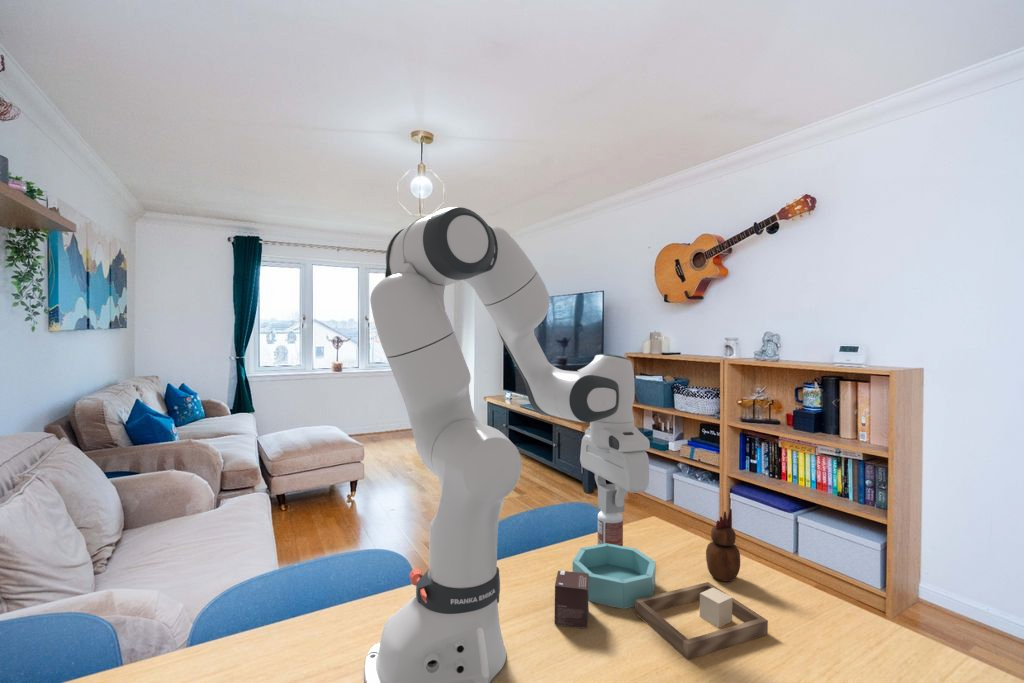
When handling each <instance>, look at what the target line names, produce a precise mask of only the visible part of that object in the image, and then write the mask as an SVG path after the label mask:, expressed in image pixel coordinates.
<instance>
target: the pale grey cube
mask: <svg viewBox="0 0 1024 683" xmlns="http://www.w3.org/2000/svg"><path fill="white" fill-rule="evenodd" d="M616 492H617V490H616V489H615V484H613V483H606V484H605V485H598V487H597V508H599V509H600V511H604V512H605V513H619V512H620V513H625V504H624V505H623V506H621V507H617V506H616V505H614V504H613V496H615V495H616ZM625 497H626V496H625ZM625 497H624V503H625V501H626V500H625V499H626V498H625Z"/></svg>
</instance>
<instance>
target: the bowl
mask: <svg viewBox="0 0 1024 683" xmlns="http://www.w3.org/2000/svg"><path fill="white" fill-rule="evenodd" d="M656 565H657V564H656V561H655V560H653V559H652V558H650V556H648V555H646V554H645V553H643V552H642V551H640V550H639V549H638V548H635V547H630V546H629V547H628V546H624V545H623V546H619V545H613V544H608V543H605V544H599V545H598V544H594V545H591V546H584V547H583V546H582V547H580V548H579V550H578V552H577V553H576V555H575V556H574V558H573V559H572V572H580V573H588V574H589V584H588V586H589V587H588V596H589V597H588V598H589V600H588V602H590V603H591V602H592V603H596V604H601V605H605V606H608V607H614V608H618V609H622V610H623V609H627V608H629V609H630V608H632V607H635V600H636V599H640V598H644V597H649V596H653V595H654V593H655V588H656V573H657V572H656V570H657V569H656Z"/></svg>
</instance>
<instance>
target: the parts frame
mask: <svg viewBox="0 0 1024 683" xmlns="http://www.w3.org/2000/svg"><path fill="white" fill-rule="evenodd" d="M711 588H715V589H717V590H719V591H721V592H723V593H725V594H727V595H729V594H728V593H726V592H725V591H723V590H721V589H720V588H718V587H717V586H715V585H714V584H712V583H710V582H709V581H707V582H703V583H699V584H693V585H691V586H690V585H689V586H686V587H682V588H677V589H674V590H670V591H666V592H662V593H657V594H653V596H649V597H644V598H640V599H636V600H635V606H634V613H635V614H636V615H637V616H638V617H639V618H640V619H641V620H642V621H644V623H646V624H647V625H648V626H649V627H650V628H652V630H654V631H655V632H656V633H657V634H658V635H659V636H660V637H661V638H663V639H664V640H665V641H666V642H667V643H668V644H669V645H670V646H672V647H673V648H674V649H675V650H677V651H678V653H680V654H681V655H682V656H683V657H684V658H685V659H686V660H688V661H689V660H690V659H693V658H696V657H697V658H698V657H700V656H702V655H706V654H710V653H713V652H716V651H719V650H722V649H724V648H729V647H731V646H735V645H738V644H742V643H744V642H748V641H750V640H754V639H757V638H760V637H764V636H767V635H768V634H769V633H768V632H769V631H768V630H769V629H768V628H769V624H768V623H769V621H768V619H767V618H765V617H763V615H760V614H759V613H756V611H754V610H752V609H751V608H749V607H747V605H744V604H743V603H741V602H740V601H739V600H737V599H735V598H734V597H732V616H734V617H735V618H737V619H739V620H740V621H741V622H742V623H739V624H735V625H731V626H728V627H725V628H722V629H717V630H716V631H712V632H708V633H706V634H702V635H698V636H695V637H691V638H688V637H686V636H685V635H684V634H682V633H681V632H680V631H679V630H678V629H676V628H675V626H673V625H672V624H670V622H669V621H668V620H665V619H664V618H663V617H662V616H661V615H660V614H658V613H657V612H658V611H662V610H666V609H668V608H672V607H677V606H681V605H685V604H689V603H692V602H696V601H700V593H702V592H704V591H706V590H708V589H711Z"/></svg>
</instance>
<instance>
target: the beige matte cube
mask: <svg viewBox="0 0 1024 683" xmlns="http://www.w3.org/2000/svg"><path fill="white" fill-rule="evenodd" d="M721 591H722V590H721ZM721 591H719V590H717V589H715V588H711V589H708V590H706V591H704V592H702V593H700V600H699V617H700V618H701V619H703V620H705V621H707V623H709V624H711V625H713V626H714V627H717V628H721V627H723V626H725V625H726V624H729V623H731V622H732V621H733V614H732V598H733V597H732V596H730V595H729V594H728V593H726V592H724V591H723V592H724V593H723V592H721ZM725 593H726V594H725ZM727 594H728V595H727Z"/></svg>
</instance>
